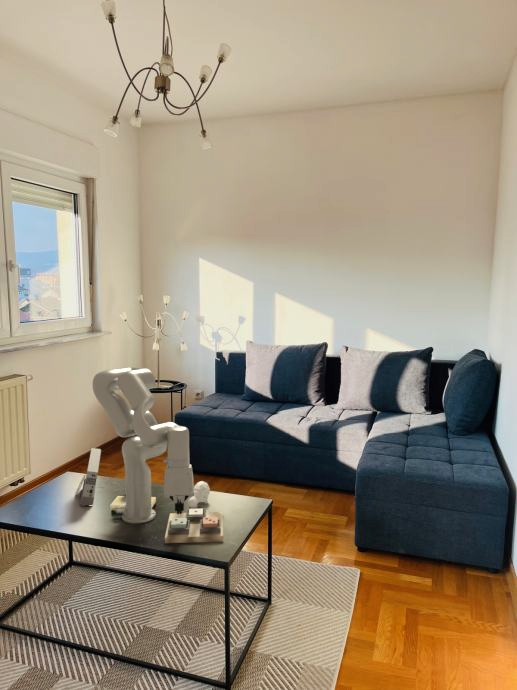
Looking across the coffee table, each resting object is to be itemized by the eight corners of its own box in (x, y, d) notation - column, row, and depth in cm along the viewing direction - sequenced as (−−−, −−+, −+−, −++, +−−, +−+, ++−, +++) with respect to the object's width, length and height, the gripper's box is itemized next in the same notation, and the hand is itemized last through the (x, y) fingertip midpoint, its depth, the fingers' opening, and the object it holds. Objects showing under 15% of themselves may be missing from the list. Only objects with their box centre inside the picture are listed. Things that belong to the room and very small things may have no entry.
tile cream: (188, 519, 196) (188, 514, 196) (189, 513, 202) (189, 508, 201) (202, 519, 197) (202, 513, 197) (203, 513, 202) (203, 508, 202)
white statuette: (210, 480, 219) (196, 493, 208) (211, 499, 221) (198, 513, 210) (197, 478, 221) (182, 491, 210) (198, 497, 223) (183, 511, 212)
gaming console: (76, 489, 232) (84, 444, 231) (94, 491, 234) (102, 447, 233) (71, 510, 210) (81, 461, 209) (91, 512, 212) (100, 463, 211)
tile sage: (171, 530, 186) (171, 524, 186) (172, 523, 191) (172, 517, 191) (186, 529, 186) (186, 523, 186) (187, 523, 192) (186, 517, 191)
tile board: (164, 543, 183) (164, 532, 183) (170, 518, 203) (169, 508, 203) (223, 541, 185) (223, 530, 184) (222, 516, 205) (222, 506, 204)
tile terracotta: (202, 529, 187) (202, 523, 187) (203, 522, 192) (203, 517, 192) (217, 528, 187) (217, 522, 187) (217, 522, 192) (217, 516, 192)
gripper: (155, 466, 182) (156, 517, 184) (199, 465, 183) (200, 516, 185) (158, 459, 189) (159, 509, 191) (200, 458, 191) (201, 507, 192)
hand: (179, 512), depth 188 cm, fingers closed
